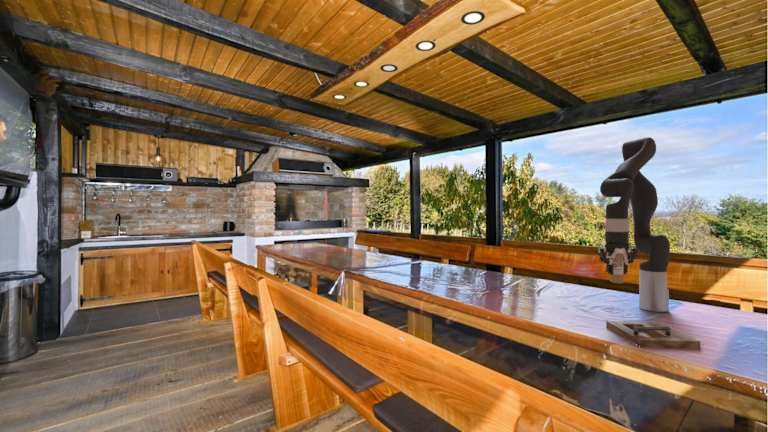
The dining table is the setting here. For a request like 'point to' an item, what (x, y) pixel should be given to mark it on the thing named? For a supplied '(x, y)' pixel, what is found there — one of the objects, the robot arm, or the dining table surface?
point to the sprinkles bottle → (618, 267)
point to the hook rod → (666, 328)
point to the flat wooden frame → (658, 337)
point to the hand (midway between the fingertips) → (616, 273)
